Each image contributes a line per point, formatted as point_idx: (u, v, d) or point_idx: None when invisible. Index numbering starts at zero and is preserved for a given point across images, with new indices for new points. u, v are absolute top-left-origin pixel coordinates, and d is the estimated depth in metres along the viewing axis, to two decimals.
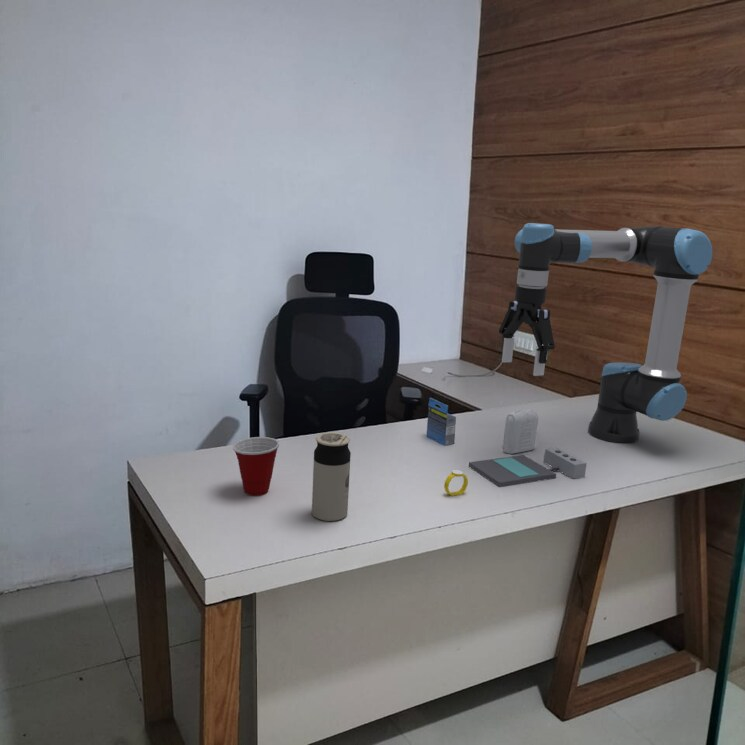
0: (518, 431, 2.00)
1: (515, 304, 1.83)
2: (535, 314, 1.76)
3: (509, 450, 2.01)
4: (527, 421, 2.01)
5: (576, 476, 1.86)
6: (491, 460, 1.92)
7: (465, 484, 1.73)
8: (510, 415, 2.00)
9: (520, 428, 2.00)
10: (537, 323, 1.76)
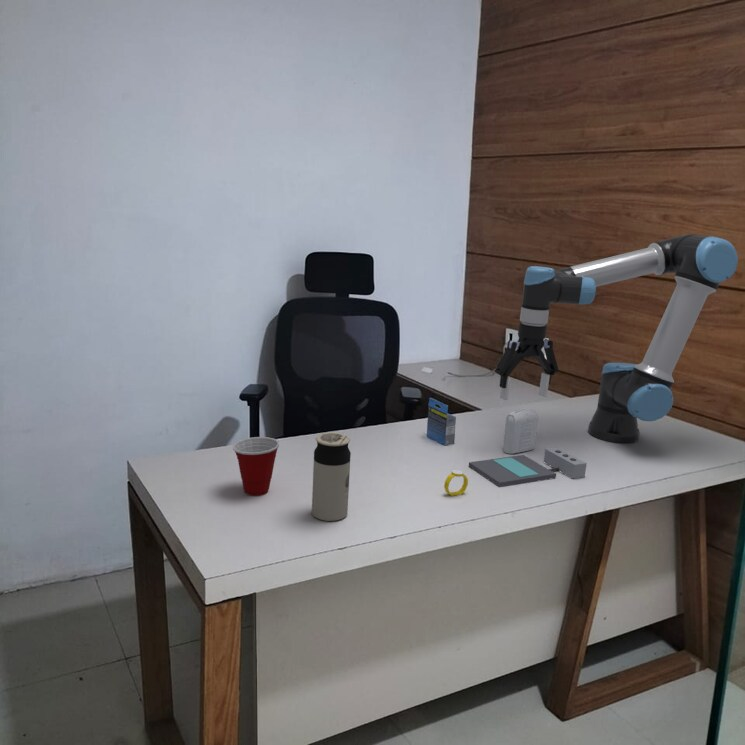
0: (518, 431, 2.00)
1: None
2: None
3: (509, 450, 2.01)
4: (527, 421, 2.01)
5: (576, 476, 1.86)
6: (491, 460, 1.92)
7: (465, 484, 1.73)
8: (510, 415, 2.00)
9: (520, 428, 2.00)
10: (517, 354, 1.96)
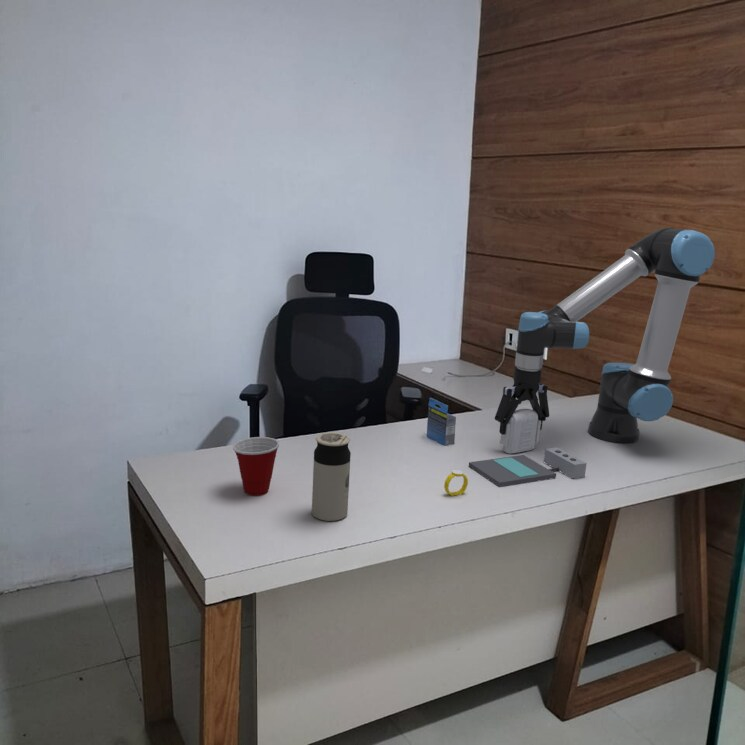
0: (518, 431, 2.00)
1: None
2: None
3: (509, 450, 2.01)
4: (527, 421, 2.01)
5: (576, 476, 1.86)
6: (491, 460, 1.92)
7: (465, 484, 1.73)
8: None
9: (520, 428, 2.00)
10: (514, 400, 1.99)
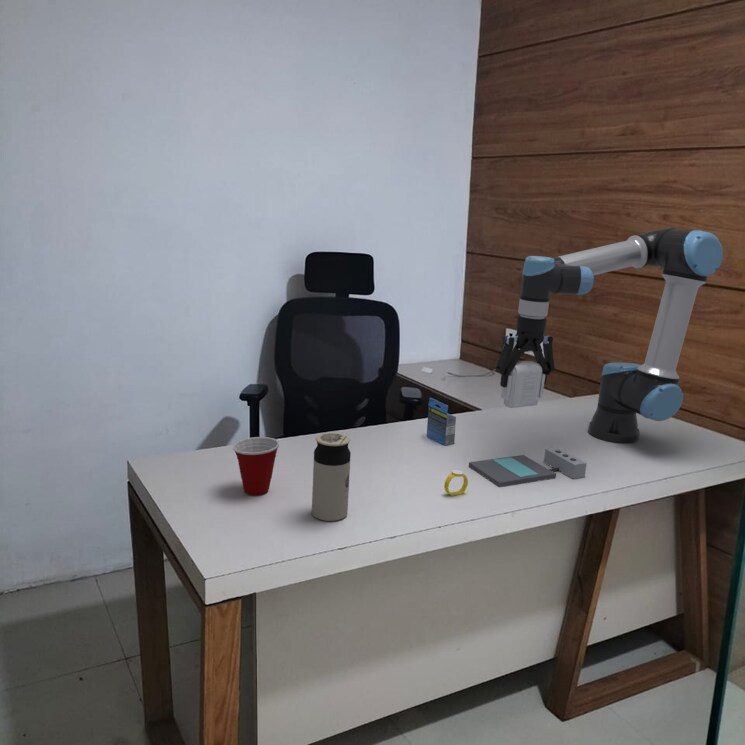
0: (520, 383, 1.87)
1: None
2: None
3: (510, 404, 1.88)
4: (530, 374, 1.88)
5: (576, 476, 1.86)
6: (491, 460, 1.92)
7: (465, 484, 1.73)
8: None
9: (522, 380, 1.87)
10: (517, 350, 1.86)
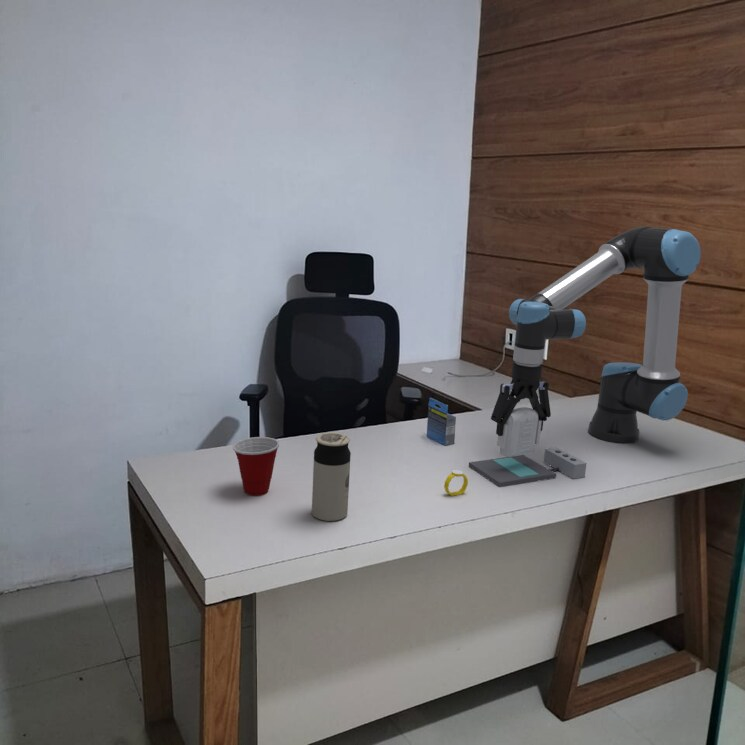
0: (517, 432, 1.82)
1: None
2: None
3: (506, 453, 1.84)
4: (527, 421, 1.83)
5: (576, 476, 1.86)
6: (491, 460, 1.92)
7: (465, 484, 1.73)
8: None
9: (518, 429, 1.82)
10: (512, 398, 1.82)
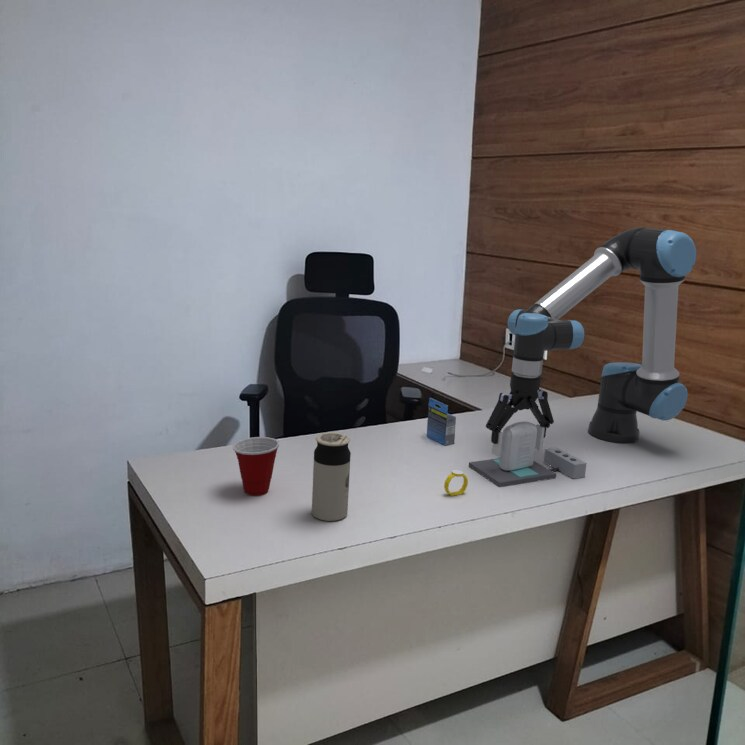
0: (516, 446, 1.84)
1: None
2: None
3: (505, 467, 1.85)
4: (526, 435, 1.85)
5: (576, 476, 1.86)
6: (491, 460, 1.92)
7: (465, 484, 1.73)
8: (506, 429, 1.84)
9: (517, 443, 1.84)
10: (510, 407, 1.82)
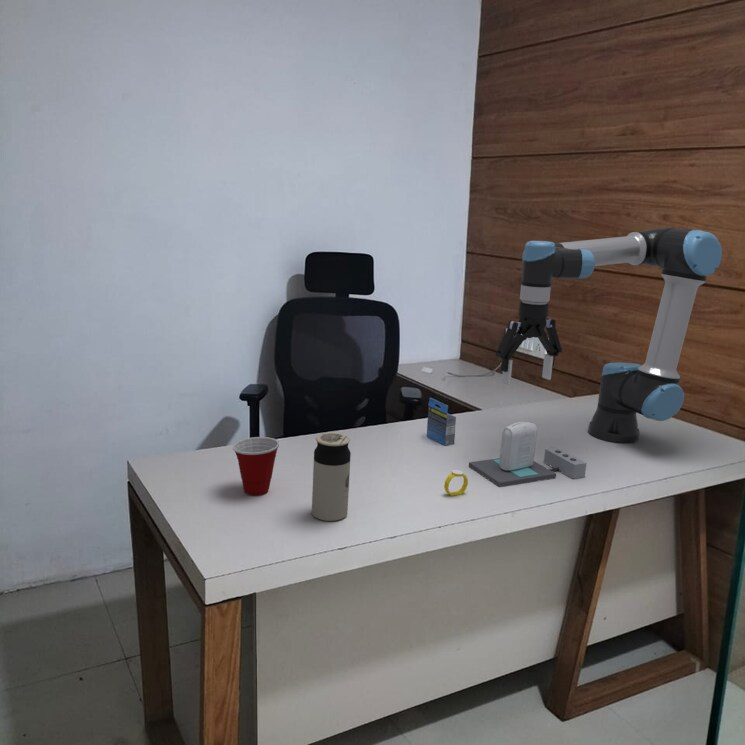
0: (516, 446, 1.83)
1: None
2: None
3: (505, 467, 1.85)
4: (526, 436, 1.85)
5: (576, 476, 1.86)
6: (491, 460, 1.92)
7: (465, 484, 1.73)
8: (506, 429, 1.84)
9: (517, 443, 1.84)
10: (519, 335, 1.84)
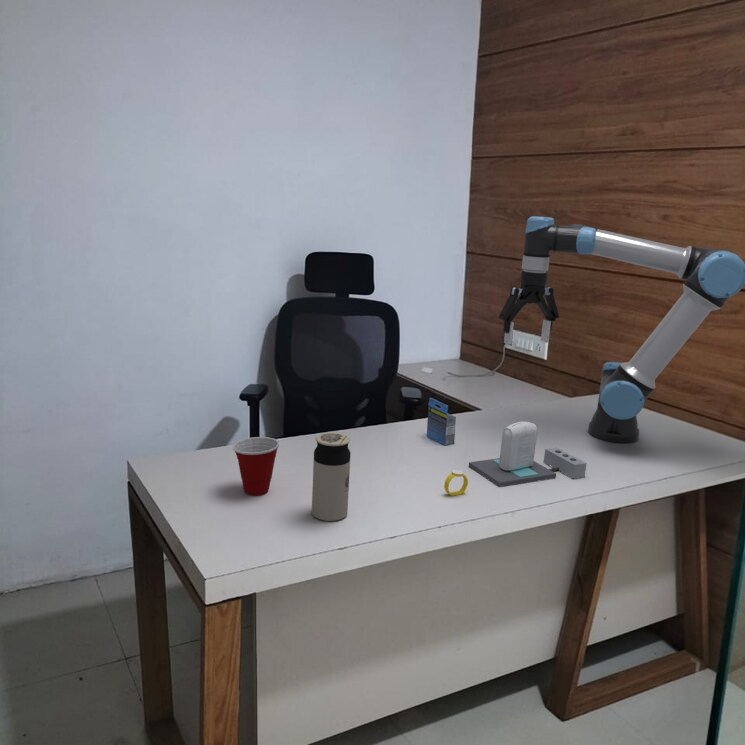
0: (516, 446, 1.84)
1: None
2: (519, 292, 2.06)
3: (505, 467, 1.85)
4: (526, 436, 1.85)
5: (576, 476, 1.86)
6: (491, 460, 1.92)
7: (465, 484, 1.73)
8: (506, 429, 1.84)
9: (517, 443, 1.84)
10: (520, 300, 2.06)
